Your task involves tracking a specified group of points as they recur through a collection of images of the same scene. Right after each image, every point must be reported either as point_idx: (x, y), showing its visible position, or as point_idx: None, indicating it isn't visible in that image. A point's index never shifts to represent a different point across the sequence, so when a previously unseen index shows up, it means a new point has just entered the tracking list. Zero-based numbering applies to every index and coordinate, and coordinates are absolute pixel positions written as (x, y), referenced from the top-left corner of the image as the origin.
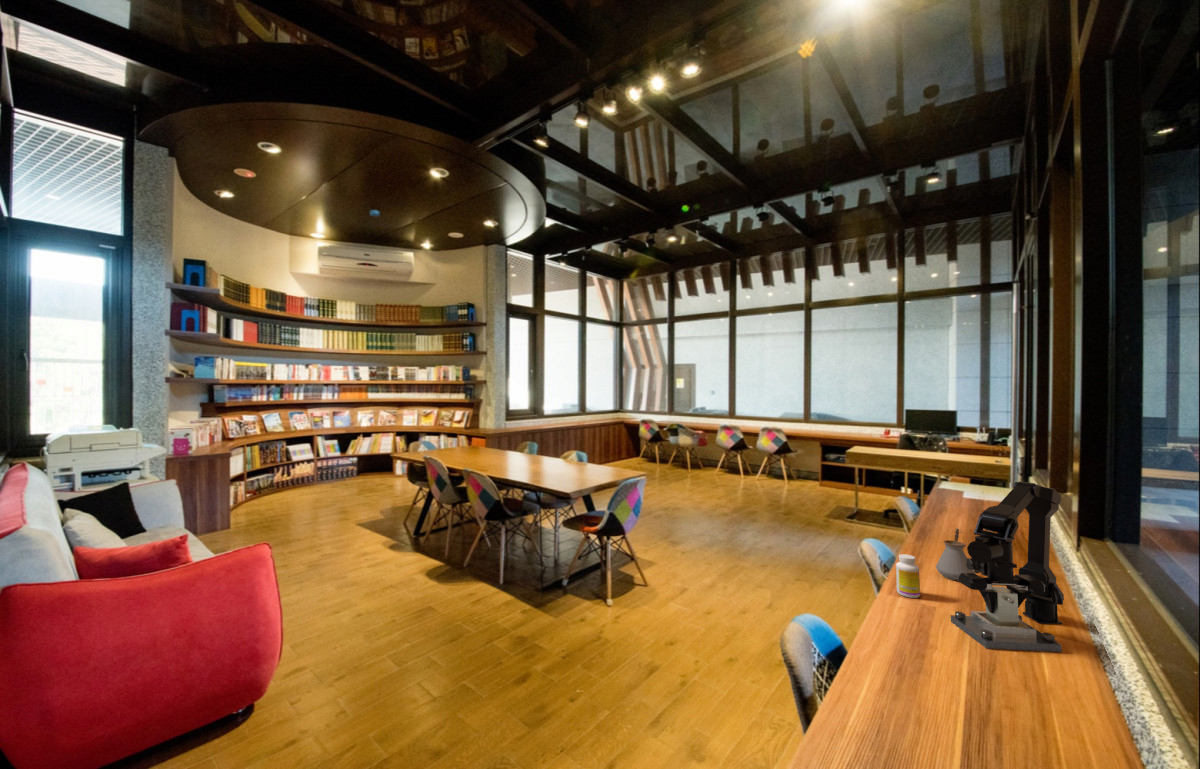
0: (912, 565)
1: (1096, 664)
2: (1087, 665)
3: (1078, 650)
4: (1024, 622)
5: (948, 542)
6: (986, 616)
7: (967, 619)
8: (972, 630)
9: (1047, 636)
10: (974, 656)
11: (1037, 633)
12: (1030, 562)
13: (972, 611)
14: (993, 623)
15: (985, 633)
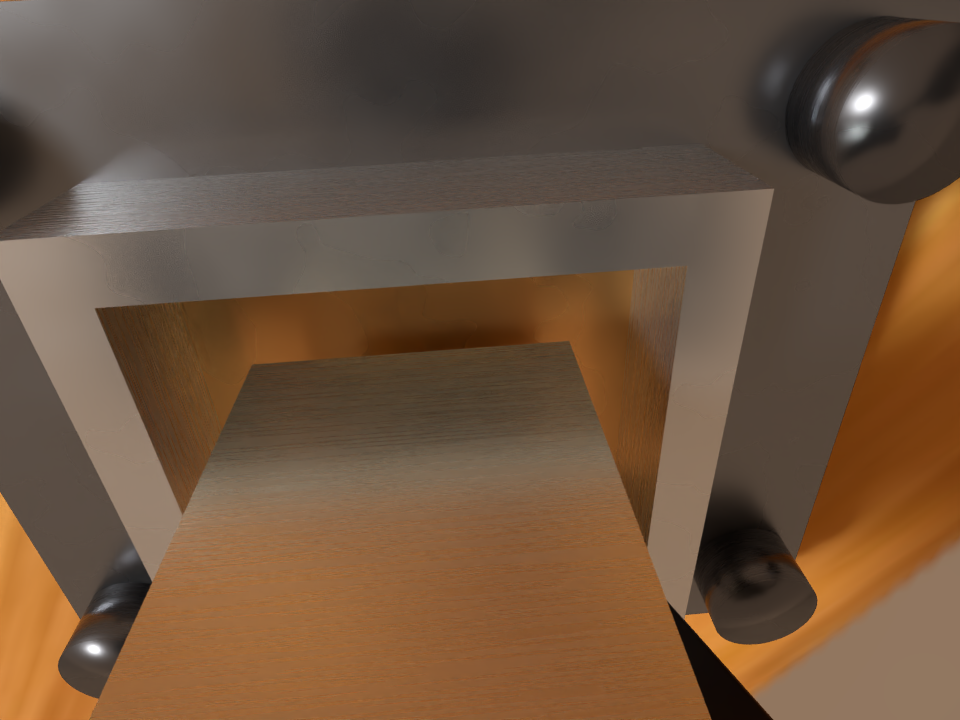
0: None
1: (829, 637)
2: (751, 656)
3: (934, 494)
4: (703, 520)
5: None
6: (248, 387)
7: (19, 191)
8: (22, 514)
9: (723, 635)
10: (10, 700)
11: (773, 448)
12: None
13: (21, 260)
14: (384, 300)
15: (92, 695)
